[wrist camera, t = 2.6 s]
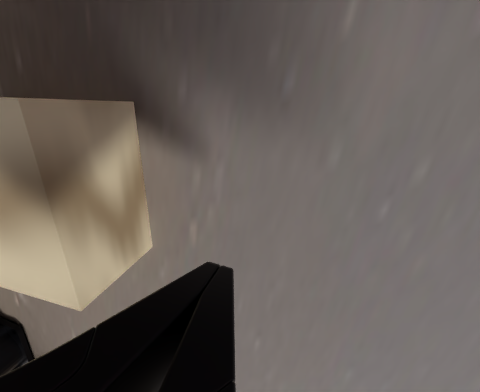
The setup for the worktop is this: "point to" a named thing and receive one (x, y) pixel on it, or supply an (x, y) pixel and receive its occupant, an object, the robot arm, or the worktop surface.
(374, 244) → the worktop surface
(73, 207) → the maple block
